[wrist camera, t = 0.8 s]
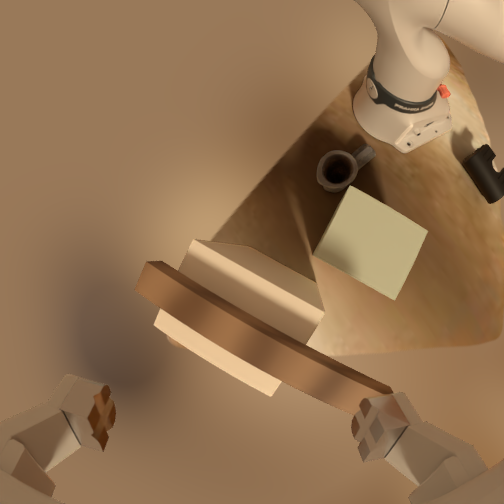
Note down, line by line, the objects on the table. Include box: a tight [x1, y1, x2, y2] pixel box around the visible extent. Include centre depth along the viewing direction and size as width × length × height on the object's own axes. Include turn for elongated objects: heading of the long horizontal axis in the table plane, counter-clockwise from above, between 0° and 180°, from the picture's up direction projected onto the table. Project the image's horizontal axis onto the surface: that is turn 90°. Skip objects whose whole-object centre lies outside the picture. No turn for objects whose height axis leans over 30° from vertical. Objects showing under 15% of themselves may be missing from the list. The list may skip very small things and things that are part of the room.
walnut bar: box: [135, 261, 393, 415], centre depth 24 cm, size 26×3×3 cm, turn 62°
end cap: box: [462, 144, 504, 204], centre depth 40 cm, size 10×7×7 cm
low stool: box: [313, 185, 428, 300], centre depth 41 cm, size 12×10×16 cm
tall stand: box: [154, 239, 325, 397], centre depth 39 cm, size 14×10×26 cm
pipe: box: [317, 144, 376, 193], centre depth 45 cm, size 6×13×8 cm, turn 129°
